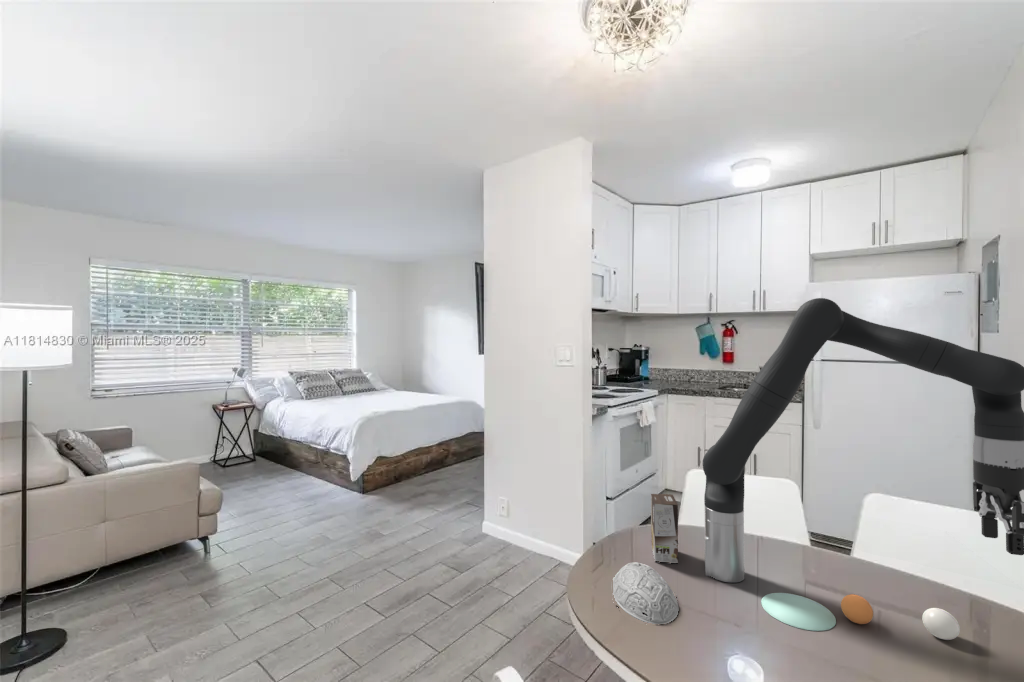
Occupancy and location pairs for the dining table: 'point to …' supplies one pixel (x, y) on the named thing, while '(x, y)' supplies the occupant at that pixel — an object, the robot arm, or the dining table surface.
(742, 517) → the robot arm
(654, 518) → the coffee box
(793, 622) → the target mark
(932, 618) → the cue ball
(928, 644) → the dining table surface
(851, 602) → the orange ball
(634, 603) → the grey oval dome
